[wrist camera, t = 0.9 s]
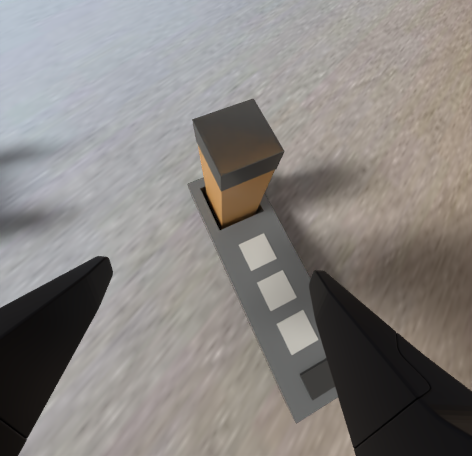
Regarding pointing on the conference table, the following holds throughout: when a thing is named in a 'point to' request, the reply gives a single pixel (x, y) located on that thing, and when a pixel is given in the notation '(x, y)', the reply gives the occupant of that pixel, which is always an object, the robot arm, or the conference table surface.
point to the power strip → (274, 302)
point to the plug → (236, 159)
